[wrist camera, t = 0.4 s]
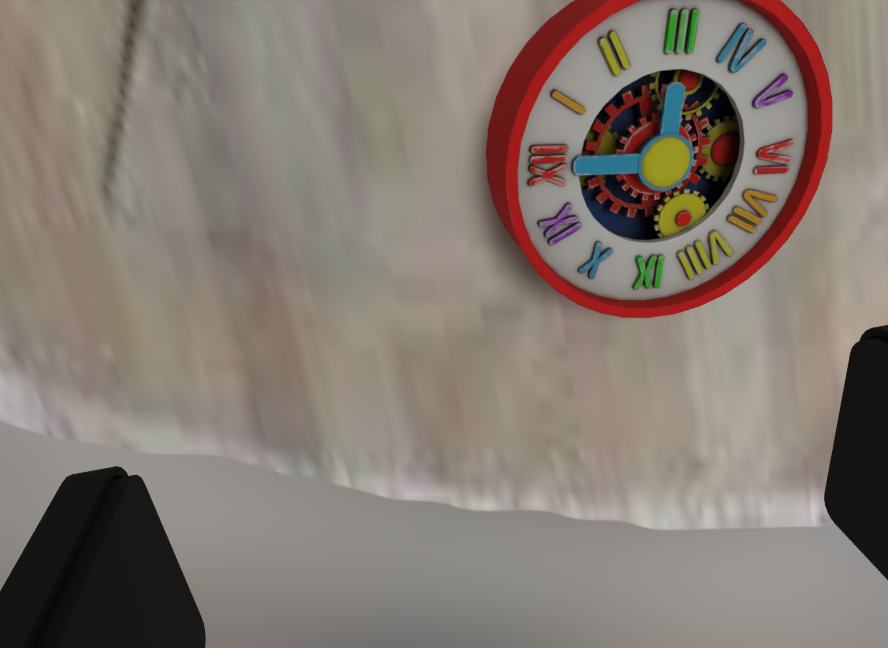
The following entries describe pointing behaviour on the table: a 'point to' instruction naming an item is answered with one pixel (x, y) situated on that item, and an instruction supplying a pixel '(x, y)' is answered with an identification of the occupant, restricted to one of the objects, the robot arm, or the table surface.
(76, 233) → the table surface
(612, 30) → the toy clock
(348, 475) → the table surface
